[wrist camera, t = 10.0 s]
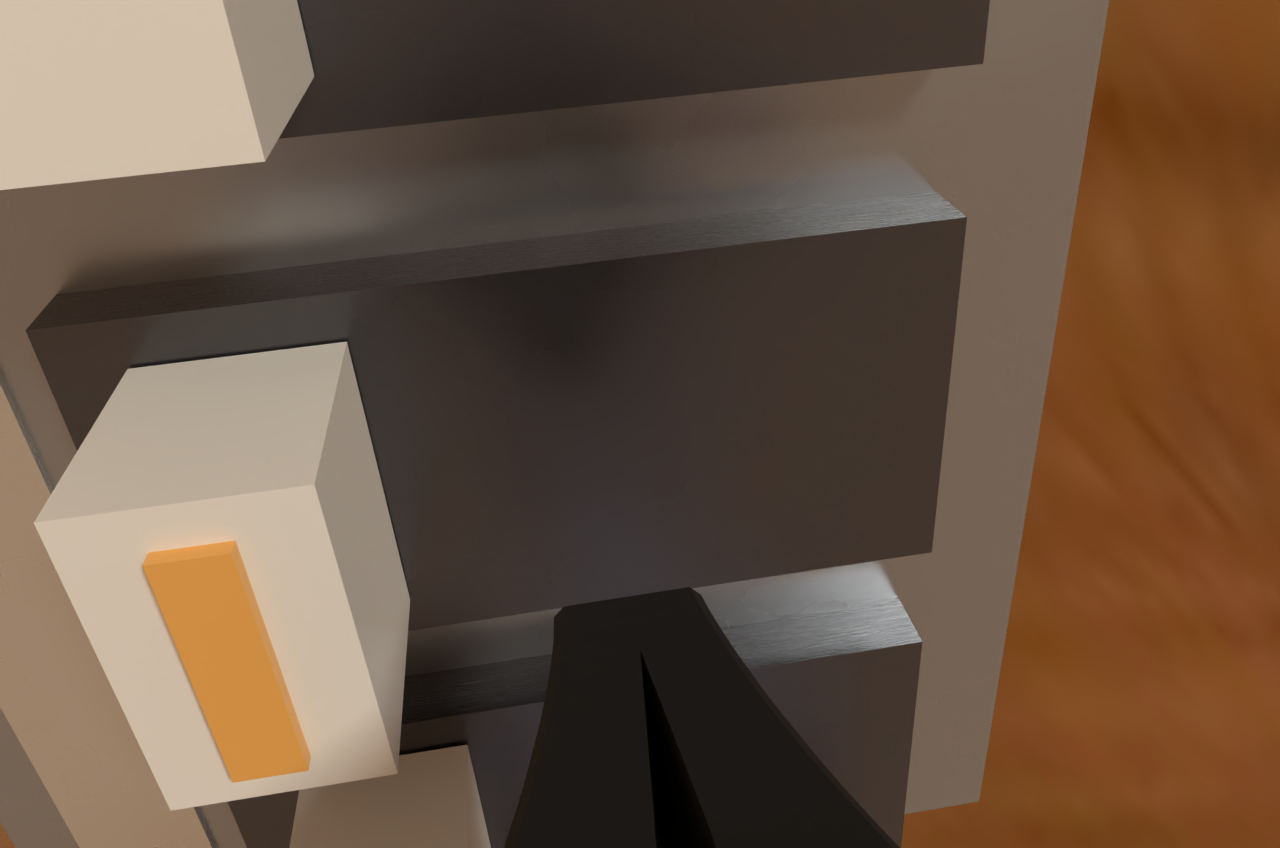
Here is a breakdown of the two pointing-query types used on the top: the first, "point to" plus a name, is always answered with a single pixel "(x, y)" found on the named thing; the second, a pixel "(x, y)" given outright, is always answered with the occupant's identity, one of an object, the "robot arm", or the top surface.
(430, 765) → the block
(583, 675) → the robot arm
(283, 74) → the block
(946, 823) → the top surface
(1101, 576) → the top surface
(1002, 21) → the breaker panel
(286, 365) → the breaker middle
